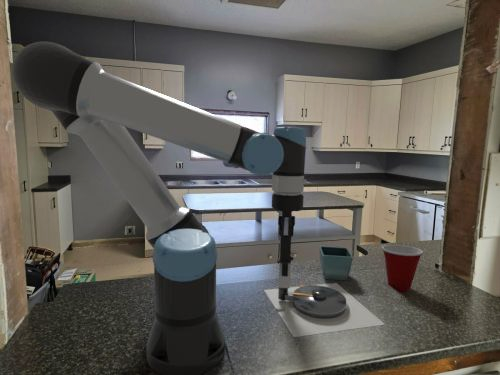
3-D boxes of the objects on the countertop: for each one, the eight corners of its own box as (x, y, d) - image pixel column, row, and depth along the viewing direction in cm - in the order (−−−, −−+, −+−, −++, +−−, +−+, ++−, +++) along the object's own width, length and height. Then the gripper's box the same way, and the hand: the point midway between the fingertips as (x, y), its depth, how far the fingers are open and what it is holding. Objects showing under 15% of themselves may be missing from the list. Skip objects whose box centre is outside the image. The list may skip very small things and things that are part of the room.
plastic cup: (405, 278, 101) (408, 241, 99) (427, 295, 90) (432, 253, 89) (371, 279, 100) (374, 242, 98) (390, 296, 89) (394, 254, 87)
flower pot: (345, 274, 104) (347, 247, 102) (351, 286, 95) (353, 257, 94) (317, 272, 104) (319, 245, 103) (321, 284, 96) (322, 255, 94)
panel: (293, 342, 68) (294, 335, 68) (263, 294, 89) (263, 288, 89) (384, 329, 73) (385, 322, 73) (336, 286, 94) (336, 281, 94)
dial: (344, 295, 86) (345, 268, 85) (347, 322, 73) (349, 290, 72) (281, 288, 89) (282, 262, 88) (274, 312, 77) (275, 282, 76)
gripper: (304, 197, 71) (299, 300, 74) (303, 189, 83) (299, 277, 86) (270, 196, 72) (266, 297, 75) (273, 188, 84) (271, 275, 87)
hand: (284, 286), depth 80 cm, fingers closed
